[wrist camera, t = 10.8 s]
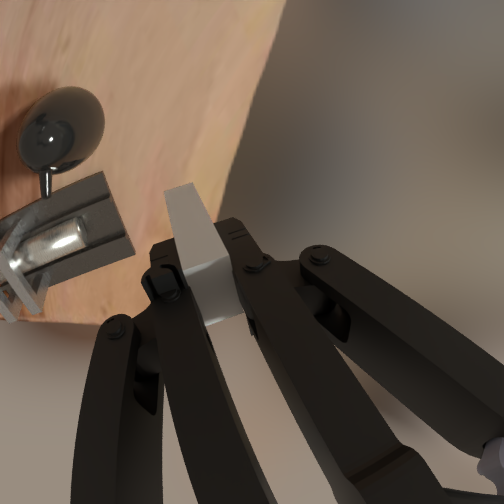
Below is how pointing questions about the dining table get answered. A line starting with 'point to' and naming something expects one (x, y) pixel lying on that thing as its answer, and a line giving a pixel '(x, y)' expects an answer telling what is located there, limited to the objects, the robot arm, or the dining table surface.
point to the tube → (49, 245)
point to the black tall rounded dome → (60, 133)
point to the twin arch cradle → (71, 265)
